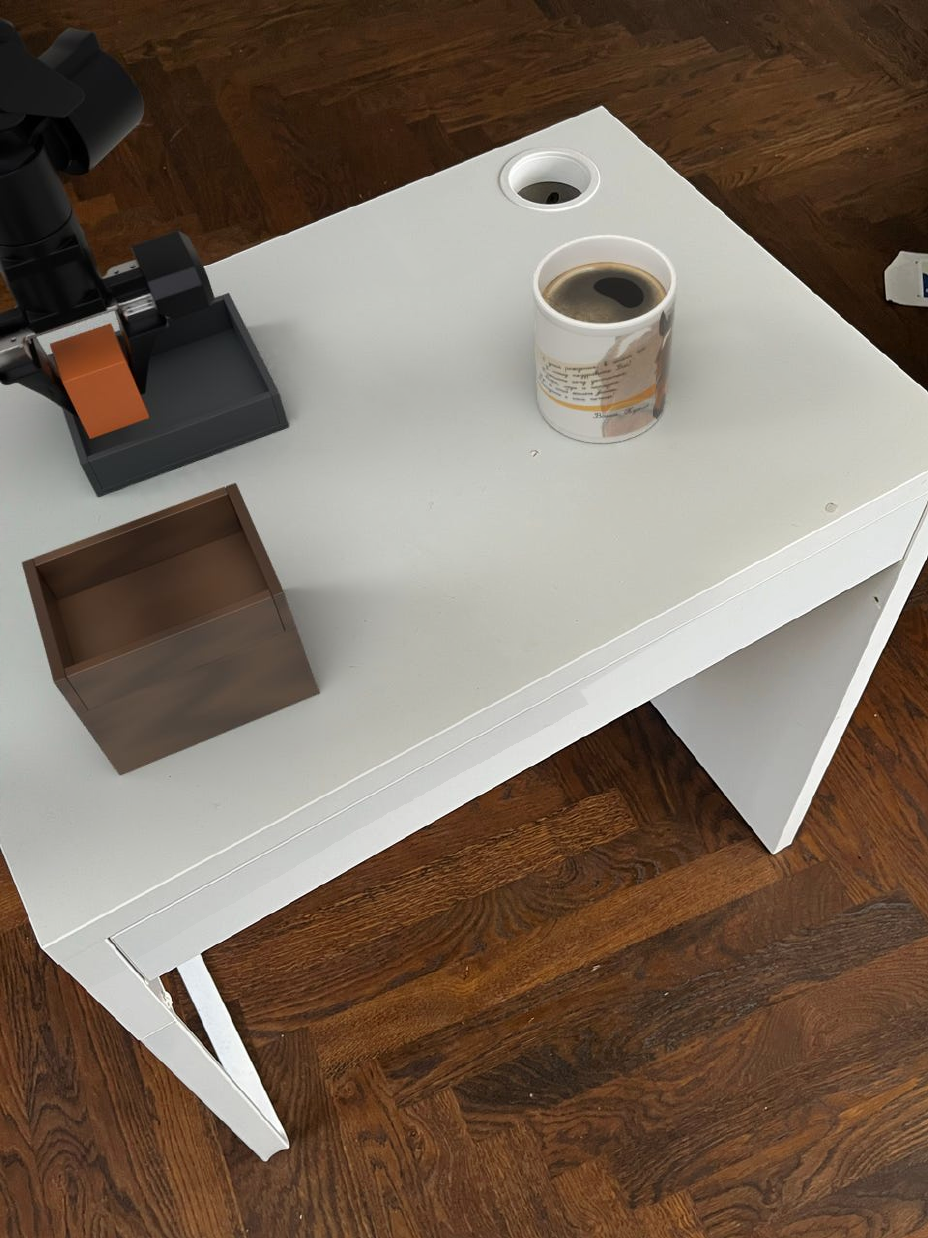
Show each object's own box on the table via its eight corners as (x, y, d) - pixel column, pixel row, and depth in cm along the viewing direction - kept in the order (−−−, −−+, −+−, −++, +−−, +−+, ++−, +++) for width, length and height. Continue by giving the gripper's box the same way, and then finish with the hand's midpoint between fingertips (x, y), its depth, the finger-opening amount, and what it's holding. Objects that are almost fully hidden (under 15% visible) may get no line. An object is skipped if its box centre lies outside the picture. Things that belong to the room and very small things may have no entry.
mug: (506, 384, 89) (498, 266, 80) (630, 319, 92) (635, 198, 83) (588, 464, 83) (589, 347, 74) (717, 392, 86) (733, 271, 77)
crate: (119, 776, 72) (53, 683, 63) (86, 662, 77) (21, 561, 68) (320, 693, 74) (284, 592, 65) (274, 589, 79) (235, 481, 70)
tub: (97, 497, 85) (80, 464, 82) (61, 389, 93) (44, 355, 90) (289, 427, 88) (279, 392, 85) (239, 327, 95) (228, 292, 92)
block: (90, 439, 83) (62, 382, 78) (76, 400, 85) (49, 343, 81) (150, 418, 84) (125, 360, 79) (135, 380, 86) (110, 322, 82)
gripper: (139, 110, 77) (201, 297, 90) (-139, 196, 74) (-34, 377, 87) (183, 197, 71) (243, 384, 84) (-119, 294, 68) (-9, 474, 81)
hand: (110, 401), depth 84 cm, fingers closed on block, 4 cm apart
